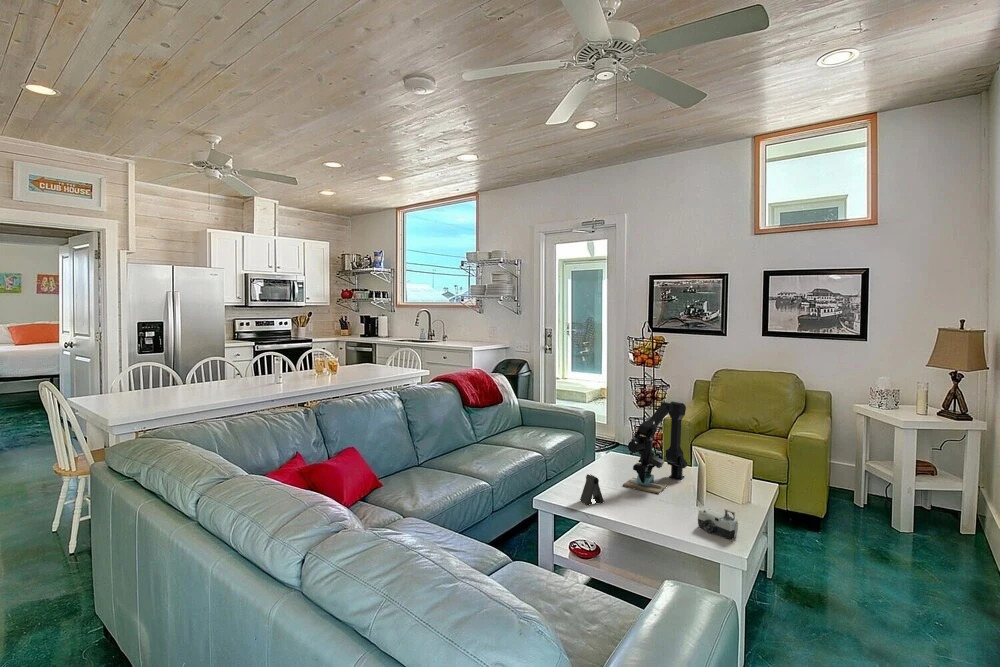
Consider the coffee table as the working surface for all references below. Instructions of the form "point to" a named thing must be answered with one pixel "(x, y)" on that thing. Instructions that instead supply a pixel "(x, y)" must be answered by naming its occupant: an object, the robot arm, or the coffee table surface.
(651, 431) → the robot arm
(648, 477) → the block
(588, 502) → the phone stand
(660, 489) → the rail plate
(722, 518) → the camera
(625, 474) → the coffee table surface
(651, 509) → the coffee table surface
